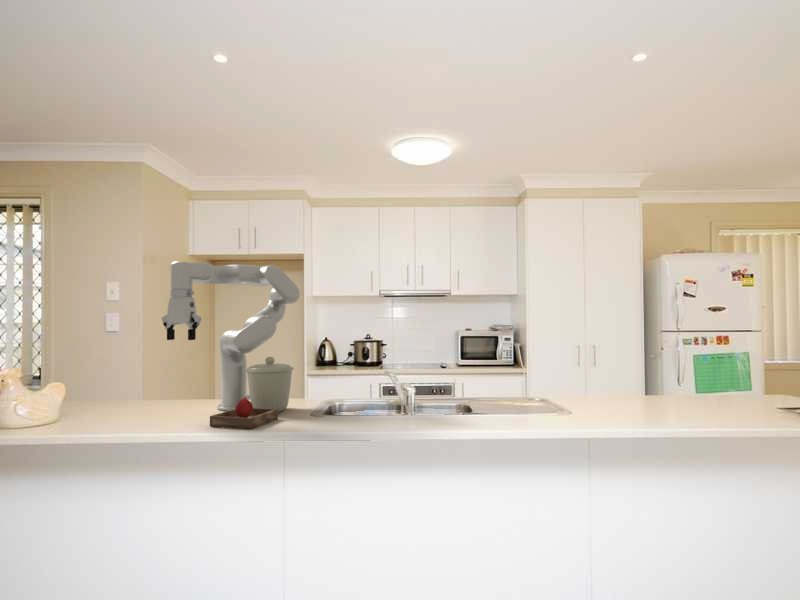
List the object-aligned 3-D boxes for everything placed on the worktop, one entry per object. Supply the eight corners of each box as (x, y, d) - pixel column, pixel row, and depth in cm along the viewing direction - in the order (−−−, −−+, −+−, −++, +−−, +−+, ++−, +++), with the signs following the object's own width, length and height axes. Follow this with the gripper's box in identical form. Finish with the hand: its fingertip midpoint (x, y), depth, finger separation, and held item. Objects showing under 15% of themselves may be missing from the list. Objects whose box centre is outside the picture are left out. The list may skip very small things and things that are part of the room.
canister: (242, 409, 183) (243, 356, 184) (288, 405, 191) (288, 354, 191) (248, 417, 167) (248, 359, 167) (298, 413, 174) (298, 357, 175)
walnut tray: (239, 416, 169) (239, 407, 169) (277, 419, 164) (277, 409, 164) (209, 426, 153) (209, 416, 153) (250, 429, 149) (251, 418, 149)
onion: (238, 422, 155) (238, 398, 155) (233, 419, 159) (233, 396, 160) (255, 420, 158) (255, 396, 158) (249, 417, 163) (249, 394, 163)
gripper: (207, 294, 174) (207, 339, 174) (170, 295, 179) (170, 339, 179) (193, 293, 167) (192, 340, 166) (155, 294, 172) (154, 340, 171)
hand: (181, 339), depth 172 cm, fingers open, 9 cm apart
